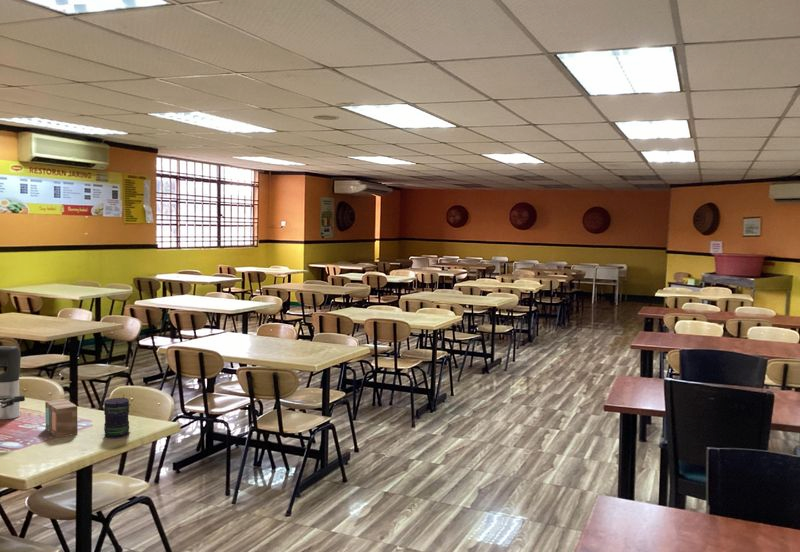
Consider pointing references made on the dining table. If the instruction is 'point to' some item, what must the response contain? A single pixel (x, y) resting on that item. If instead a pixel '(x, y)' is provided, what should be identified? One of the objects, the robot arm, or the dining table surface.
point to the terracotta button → (54, 421)
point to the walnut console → (63, 417)
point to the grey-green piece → (47, 416)
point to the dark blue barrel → (116, 418)
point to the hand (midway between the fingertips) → (24, 398)
